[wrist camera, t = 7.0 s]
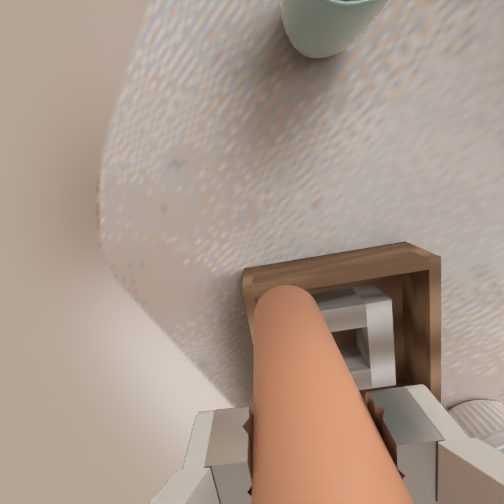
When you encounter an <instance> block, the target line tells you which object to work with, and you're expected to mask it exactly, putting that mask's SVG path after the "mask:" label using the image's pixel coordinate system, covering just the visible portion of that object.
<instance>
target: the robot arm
mask: <svg viewBox="0 0 504 504" xmlns="http://www.w3.org/2000/svg"><path fill="white" fill-rule="evenodd" d="M365 401H366V405H367V407H368V409H369V412H370V414H371V416H372V419H373V421H374V423H375V425H376V427H377V429H378V431H379V433H380V435H381V437H382V439H383V441H384V443H385V445H386V447H387V449H388V451H389V453H390V456H391V458H392V460H393V462H394V464H395V466H396V468H397V470H398V472H399V474H400V476H401V478H402V480H403V482H404V484H405V486H406V488H407V490H408V493H409V495H410V497H411V499H412V501H413V503H414V504H432V503H437V504H504V453H502V452H500V451H498V450H497V449H495V448H493V447H491V446H490V445H488V444H486V443H484V442H483V441H481V440H479V439H477V438H469V437H468V436H467V435H466V434H465V433H464V431H463V430H462V429H461V428H460V427H459V425H458V424H457V423H456V422H455V421H454V419H453V418H452V417H451V416H450V415H449V413H448V412H447V411H446V410H445V409H444V407H443V406H442V405H441V404H440V403H439V401H438V400H437V399H436V398H435V397H434V395H433V394H432V393H431V392H430V391H429V389H428V388H427V387H426V386H424V385H423V384H419V385H412V386H405V387H398V388H391V389H383V390H376V391H368V392H366V395H365ZM252 441H253V414H252V409H251V407H250V406H249V407H238V408H229V409H218V410H213V411H201V412H198V414H197V415H196V417H195V421H194V425H193V429H192V432H191V436H190V440H189V444H188V448H187V452H186V456H185V460H184V464H183V467H182V470H181V471H176V472H175V473H174V474H173V475H172V477H171V478H170V479H169V480H168V481H167V483H166V484H165V485H164V486H163V487H162V488H161V490H160V491H159V492H158V493H157V494H156V496H155V497H154V498H153V499H152V500H151V502H150V503H149V504H252Z"/></svg>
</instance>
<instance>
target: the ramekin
mask: <svg viewBox="0 0 504 504" xmlns="http://www.w3.org/2000/svg"><path fill="white" fill-rule="evenodd" d="M447 412H448V413H449V415H450V416H451V417H452V418H453V419H454V421H455V422H456V423H457V424H458V425H459V427H460V428H461V429H462V430H463V431H464V433H465V434H466V435H467V436H468V437H469V438H477V439H479V440H481V441H483V442H484V443H486V444H488V445H490V446H491V447H493V448H495V449H497V450H498V451H500V452H502V453H504V404H503V403H500V402H496V401H490V400H471V401H467V402H463V403H461V404H458V405H456V406H454V407H453V408H451V409H449V410H448V411H447Z"/></svg>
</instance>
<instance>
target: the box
mask: <svg viewBox="0 0 504 504" xmlns="http://www.w3.org/2000/svg"><path fill="white" fill-rule="evenodd" d="M283 285H291V286H296V287H299V288H302V289H304V290H305V291H307V292H308V293H309V294H310V295H311V296H312V297H313V298H314V300H315V302H316V303H317V306H318V308H319V310H320V312H321V314H322V316H323V318H324V320H325V322H326V324H327V326H328V328H329V330H330V332H331V334H332V336H333V338H334V340H335V343H336V345H337V347H338V349H339V351H340V353H341V355H342V357H343V359H344V361H345V363H346V365H347V367H348V369H349V371H350V373H351V375H352V377H353V380H354V382H355V384H356V386H357V388H358V390H359V392H360V394H361V396H362V398H363V400H364V402H365V404H366V401H365V395H366V392H368V391H376V390H383V389H391V388H398V387H405V386H412V385H419V384H423V385H424V386H426V387H427V388H428V389H429V391H430V392H431V393H432V394H433V395H434V397H435V398H436V399H437V400H438V401H439V403H440V404H441V257H440V256H437V255H435V254H433V253H430V252H428V251H426V250H423V249H421V248H419V247H416V246H414V245H412V244H409V243H407V242H400V243H394V244H388V245H382V246H376V247H370V248H364V249H358V250H352V251H346V252H341V253H335V254H329V255H323V256H317V257H311V258H305V259H299V260H293V261H287V262H281V263H275V264H269V265H263V266H257V267H251V268H245V269H244V275H243V282H242V294H243V299H244V303H245V308H246V313H247V318H248V323H249V328H250V333H251V338H252V343H253V347H254V312H255V307H256V304H257V302H258V301H259V299H260V298H261V297H262V295H263V294H265V293H266V292H267V291H269V290H270V289H272V288H275V287H278V286H283ZM366 406H367V405H366ZM367 408H368V407H367ZM368 410H369V409H368Z"/></svg>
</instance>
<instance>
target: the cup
mask: <svg viewBox="0 0 504 504" xmlns="http://www.w3.org/2000/svg"><path fill="white" fill-rule="evenodd" d="M390 1H391V0H280V8H281V15H282V21H283V26H284V29H285V32H286V34H287V36H288V38H289V40H290V42H291V44H292V45H293V46H294V48H295V49H296V50H297V51H298V52H300V53H301V54H302V55H304V56H307V57H310V58H325V57H329V56H333V55H335V54H337V53H339V52H341V51H343V50H345V49H346V48H348V47H349V46H350V45H352V44H353V43H354V42H355V41H356V40H357V39H358V38H359V37H360V36H361V35H362V34H363V33H364V32H365V31H366V30H367V29H368V28H369V27H370V26H371V25H372V24H373V23H374V21H375V20H376V19H377V18H378V16H379V15H380V14H381V13H382V11H383V10H384V9H385V7H386V6H387V5H388V3H389V2H390Z"/></svg>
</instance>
